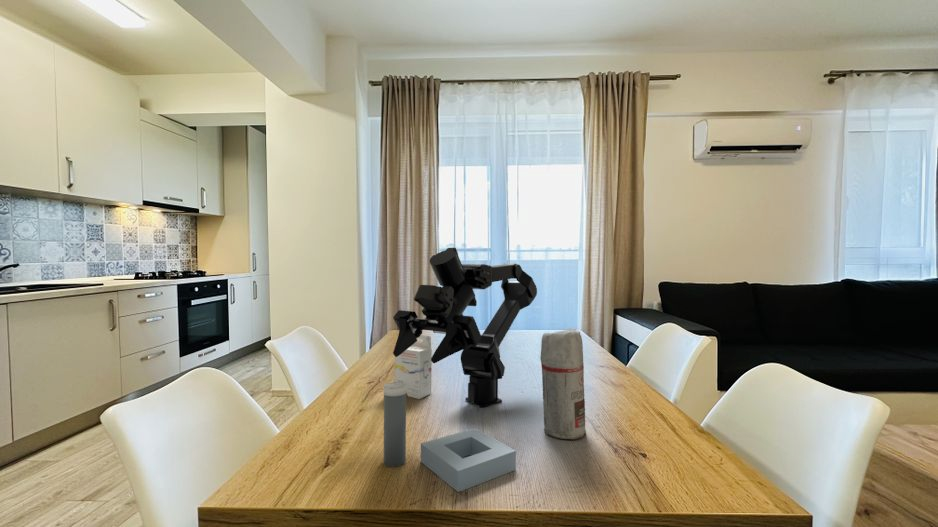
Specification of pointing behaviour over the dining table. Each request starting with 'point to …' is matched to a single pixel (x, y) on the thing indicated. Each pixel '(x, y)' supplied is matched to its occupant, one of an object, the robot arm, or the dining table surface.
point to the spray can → (563, 384)
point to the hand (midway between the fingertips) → (412, 358)
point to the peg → (394, 424)
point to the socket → (467, 458)
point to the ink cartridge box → (415, 368)
